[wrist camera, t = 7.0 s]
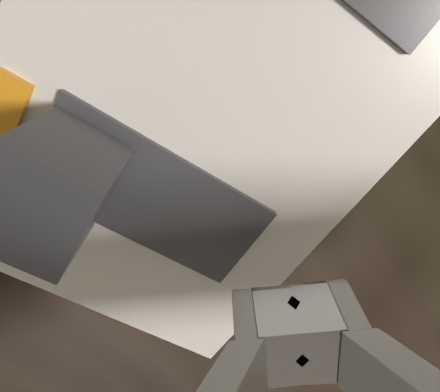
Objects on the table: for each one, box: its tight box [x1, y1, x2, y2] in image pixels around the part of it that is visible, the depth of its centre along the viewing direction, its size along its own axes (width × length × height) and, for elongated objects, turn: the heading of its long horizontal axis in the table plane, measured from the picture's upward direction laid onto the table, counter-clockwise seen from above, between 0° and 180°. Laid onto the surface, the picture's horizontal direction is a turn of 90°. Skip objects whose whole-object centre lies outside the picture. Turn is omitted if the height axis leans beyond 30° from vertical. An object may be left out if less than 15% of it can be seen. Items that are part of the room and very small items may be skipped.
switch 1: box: [0, 106, 135, 285], centre depth 7 cm, size 2×2×2 cm
